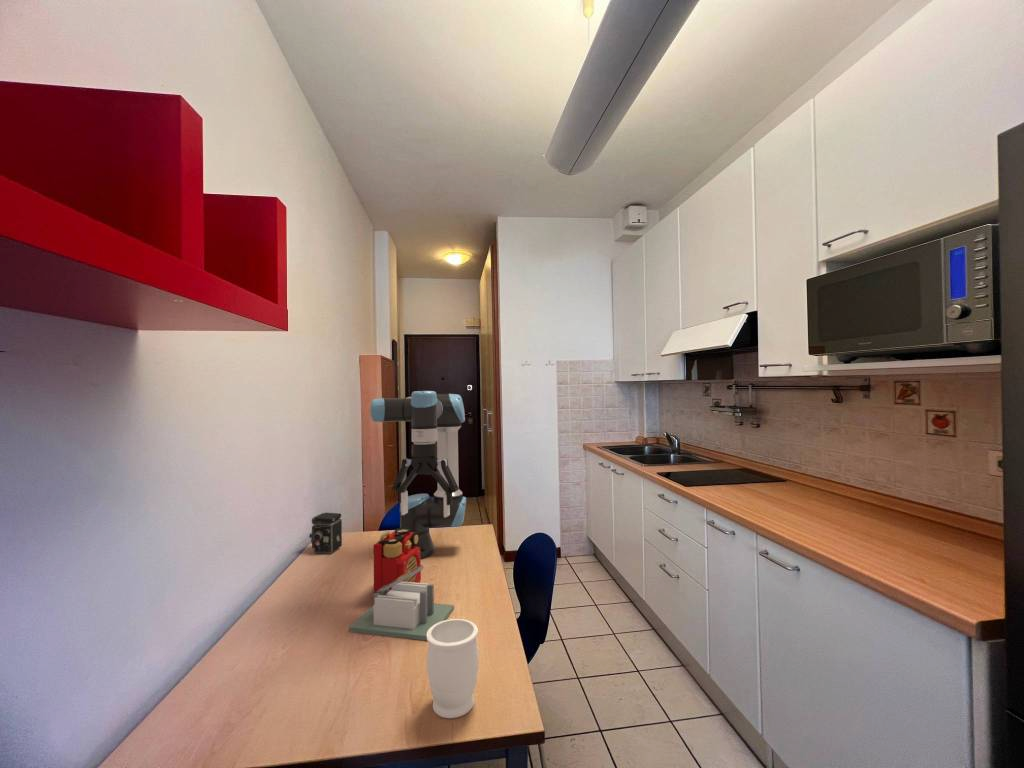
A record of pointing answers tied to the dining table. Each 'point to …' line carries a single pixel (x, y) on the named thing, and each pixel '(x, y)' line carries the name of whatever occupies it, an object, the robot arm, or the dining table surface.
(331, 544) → the camera
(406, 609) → the heatsink
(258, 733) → the dining table surface
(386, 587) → the strap
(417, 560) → the radio
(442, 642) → the jar
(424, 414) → the robot arm
